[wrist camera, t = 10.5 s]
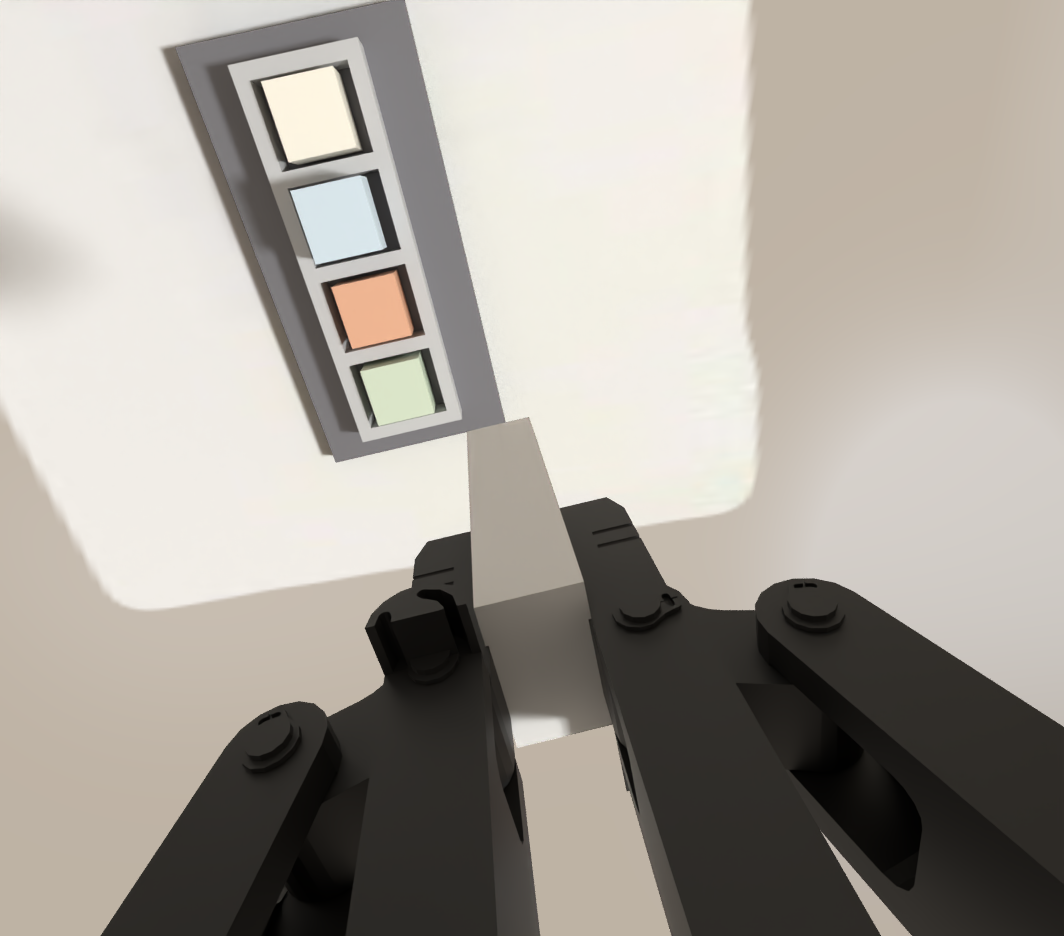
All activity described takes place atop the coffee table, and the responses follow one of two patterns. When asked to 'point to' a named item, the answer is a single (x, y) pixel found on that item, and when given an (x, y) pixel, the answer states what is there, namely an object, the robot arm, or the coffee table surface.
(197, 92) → the keypad
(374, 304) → the key terracotta
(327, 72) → the key ivory
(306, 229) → the key blue
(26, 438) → the coffee table surface
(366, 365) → the key sage
